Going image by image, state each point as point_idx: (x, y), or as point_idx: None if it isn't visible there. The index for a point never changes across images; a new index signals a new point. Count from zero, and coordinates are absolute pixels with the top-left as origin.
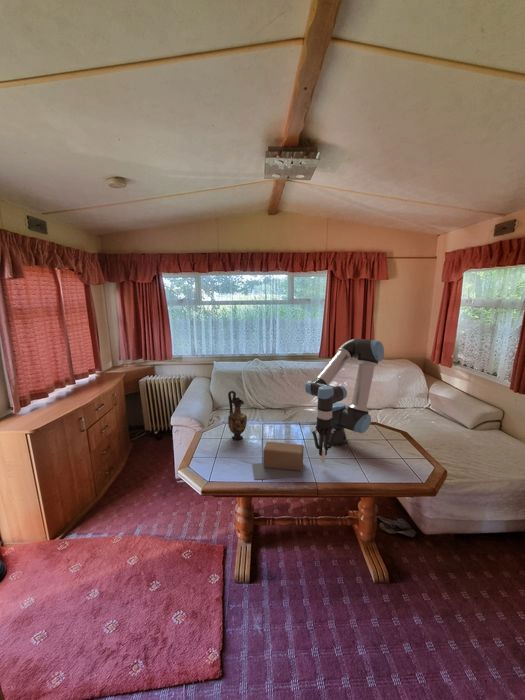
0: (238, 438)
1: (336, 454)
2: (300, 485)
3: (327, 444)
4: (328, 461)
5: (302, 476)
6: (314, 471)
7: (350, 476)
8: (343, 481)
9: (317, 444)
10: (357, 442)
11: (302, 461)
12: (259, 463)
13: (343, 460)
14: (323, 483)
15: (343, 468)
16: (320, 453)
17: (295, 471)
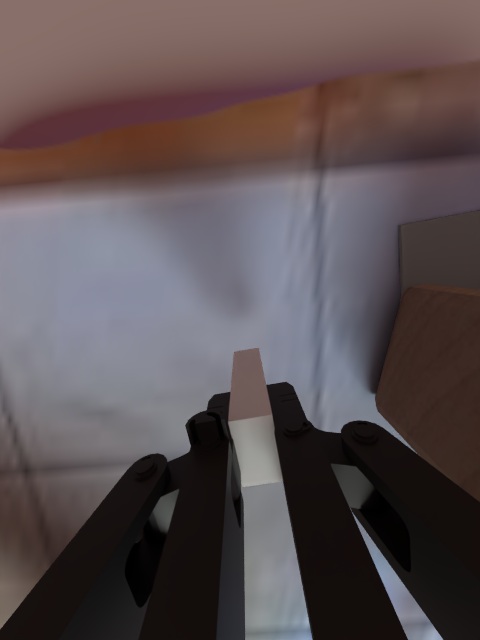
0: None
1: None
2: (442, 112)
3: (174, 526)
4: None
5: (408, 225)
6: (306, 304)
7: (67, 265)
8: (120, 197)
9: (433, 501)
10: (7, 620)
11: (462, 306)
12: None
13: (101, 443)
14: (266, 157)
15: (107, 355)
16: (287, 395)
17: (445, 285)
